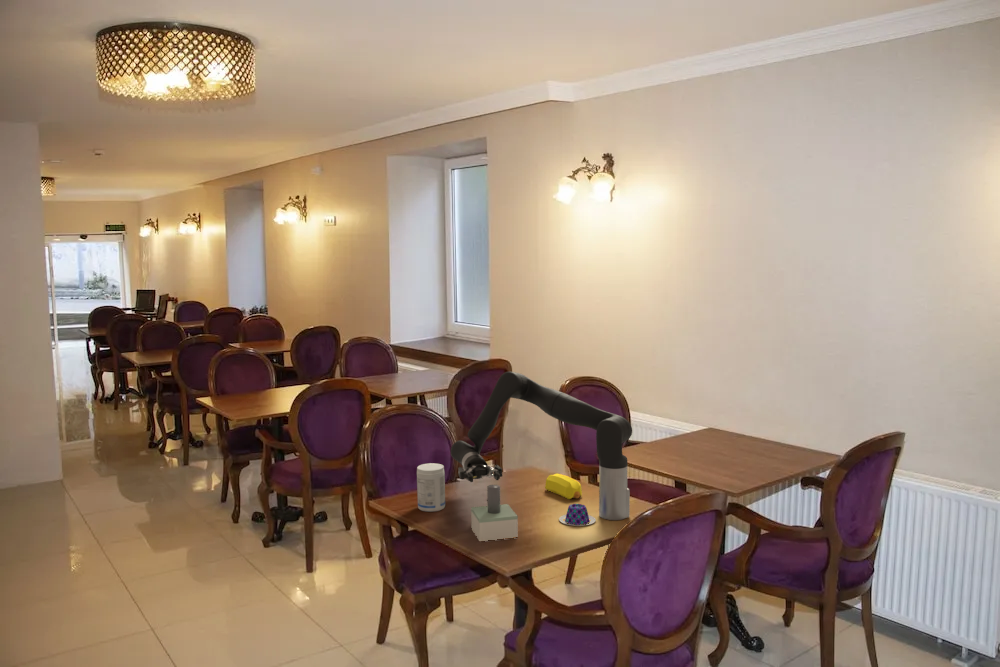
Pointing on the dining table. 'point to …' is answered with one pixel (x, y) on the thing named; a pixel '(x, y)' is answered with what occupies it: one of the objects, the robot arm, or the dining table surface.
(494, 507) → the lid
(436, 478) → the supplement tub
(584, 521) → the pudding
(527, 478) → the dining table surface
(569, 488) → the yellow rounded loaf
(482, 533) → the storage box
